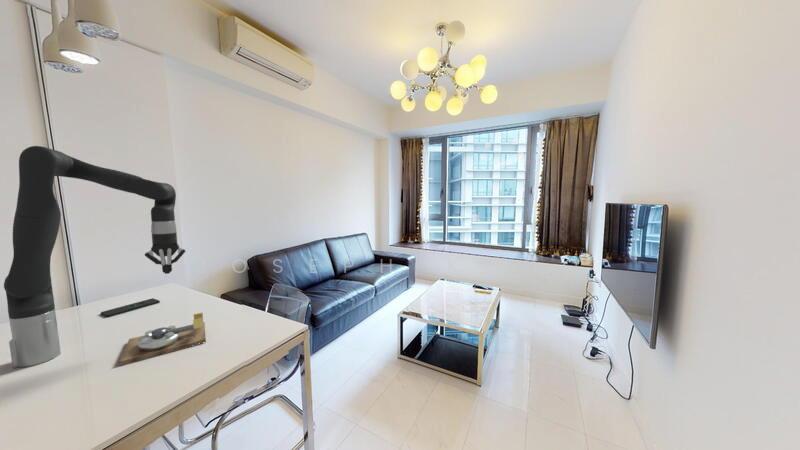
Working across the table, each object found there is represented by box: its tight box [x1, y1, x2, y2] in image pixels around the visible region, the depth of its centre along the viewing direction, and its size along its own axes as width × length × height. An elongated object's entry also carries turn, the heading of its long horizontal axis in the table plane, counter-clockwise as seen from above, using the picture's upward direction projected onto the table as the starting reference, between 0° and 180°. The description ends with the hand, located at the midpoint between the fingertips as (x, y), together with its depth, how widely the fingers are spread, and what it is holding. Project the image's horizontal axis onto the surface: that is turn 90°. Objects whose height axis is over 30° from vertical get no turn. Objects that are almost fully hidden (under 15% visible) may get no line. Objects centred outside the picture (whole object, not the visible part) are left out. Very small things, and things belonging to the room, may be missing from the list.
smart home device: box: [100, 297, 161, 319], centre depth 133 cm, size 8×2×20 cm
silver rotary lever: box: [138, 312, 204, 351], centre depth 102 cm, size 12×20×7 cm, turn 127°
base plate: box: [118, 321, 207, 366], centre depth 103 cm, size 24×18×2 cm
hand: (167, 273), depth 106 cm, fingers closed
